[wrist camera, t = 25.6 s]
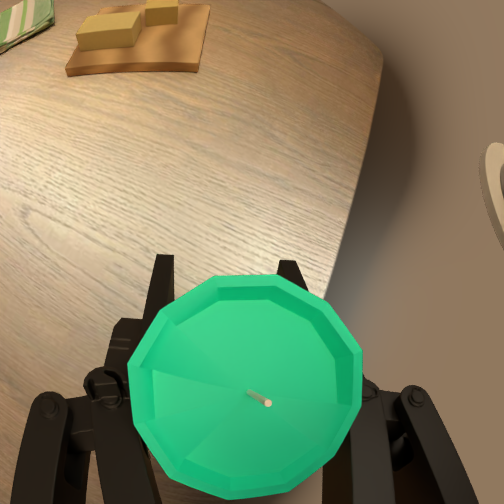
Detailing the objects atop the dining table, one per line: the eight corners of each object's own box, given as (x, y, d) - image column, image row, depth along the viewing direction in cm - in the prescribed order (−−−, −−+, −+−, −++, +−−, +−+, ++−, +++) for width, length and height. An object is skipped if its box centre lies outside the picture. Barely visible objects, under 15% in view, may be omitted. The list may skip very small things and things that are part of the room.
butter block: (141, 28, 28) (140, 10, 26) (133, 46, 27) (131, 28, 25) (90, 33, 27) (87, 16, 24) (80, 51, 26) (75, 34, 23)
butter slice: (178, 9, 30) (179, -8, 27) (177, 24, 29) (178, 6, 27) (148, 12, 29) (148, -5, 27) (145, 26, 29) (144, 8, 26)
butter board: (209, 12, 33) (210, 4, 31) (197, 72, 30) (198, 63, 28) (102, 15, 30) (101, 8, 29) (67, 76, 27) (64, 68, 25)
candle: (251, 308, 18) (346, 223, 7) (283, 403, 16) (421, 453, 5) (152, 336, 16) (74, 292, 5) (184, 434, 15) (176, 556, 4)
